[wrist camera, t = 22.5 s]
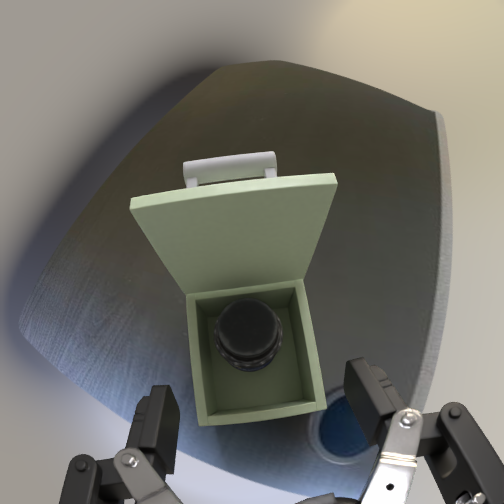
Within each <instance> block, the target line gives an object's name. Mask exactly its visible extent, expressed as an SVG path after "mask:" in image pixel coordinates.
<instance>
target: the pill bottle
mask: <svg viewBox="0 0 504 504" xmlns="http://www.w3.org/2000/svg"><path fill="white" fill-rule="evenodd" d="M214 342H215V346H216V348H217V350H218V352H219V353H220V354H221V356H222V357H223V358H224V359H225V360H226V361H227V362H228V363H229V364H230V365H231V366H233V367H234V368H236V369H238V370H241V371H245V372H255V371H258V370H261V369H263V368H265V367H266V366H267V365H269V364H270V363H271V361H272V360H273V358H274V357H275V356H276V354H277V353H278V351H279V350H280V347H281V344H282V342H283V328H282V324H281V321H280V319H279V317H278V316H277V314H276V313H275V312H274V311H273V310H272V309H271V308H270V307H269V306H268V305H267V304H266V303H264V302H262V301H260V300H258V299H254V298H241V299H238V300H235V301H233V302H231V303H230V304H228V305H227V306H226V307H225V308H224V309H223V311H222V312H221V314H220V316H219V317H218V319H217V321H216V324H215V327H214Z"/></svg>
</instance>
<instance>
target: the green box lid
mask: <svg viewBox="0 0 504 504" xmlns="http://www.w3.org/2000/svg"><path fill="white" fill-rule="evenodd" d="M183 173H184V179H185V183H186V185H187V189H181V190H174V191H168V192H162V193H157V194H151V195H145V196H140V197H135V198H131V204H130V211H131V213H132V214H133V216H134V218H135V219H136V221H137V223H138V224H139V226H140V227H141V229H142V231H143V232H144V234H145V235H146V237H147V239H148V240H149V242H150V243H151V245H152V246H153V248H154V249H155V251H156V252H157V254H158V256H159V257H160V259H161V260H162V262H163V263H164V265H165V266H166V268H167V269H168V271H169V272H170V273H171V275H172V276H173V278H174V279H175V281H176V282H177V284H178V285H179V287H180V288H181V289H182V291H183V292H184V294H192V293H201V292H209V291H218V290H226V289H234V288H242V287H249V286H257V285H264V284H272V283H279V282H286V281H293V280H300V279H304V277H305V274H306V272H307V269H308V266H309V264H310V261H311V258H312V256H313V253H314V250H315V248H316V245H317V242H318V240H319V237H320V234H321V231H322V229H323V226H324V223H325V220H326V217H327V215H328V212H329V209H330V206H331V203H332V200H333V197H334V194H335V191H336V188H337V185H338V183H337V180H336V178H335V175H334V173H326V174H311V175H298V176H286V177H277V175H276V173H277V162H276V156H275V153H274V152H261V153H251V154H242V155H233V156H225V157H217V158H210V159H203V160H196V161H190V162H184V164H183ZM258 176H264V178H265V179H256V180H247V181H238V182H230V183H222V184H215V185H207V186H200V187H199V184H202V183H209V182H217V181H224V180H232V179H240V178H249V177H258Z"/></svg>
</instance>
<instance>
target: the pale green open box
mask: <svg viewBox="0 0 504 504" xmlns="http://www.w3.org/2000/svg"><path fill="white" fill-rule="evenodd" d="M241 298H254V299H258V300H260V301H262V302H264V303H266V304H267V305H268V306H269V307H270V308H271V309H272V310H273V311H274V312H275V313H276V314H277V316H278V317H279V319H280V321H281V324H282V328H283V342H282V344H281V347H280V350H279V351H278V353H277V354H276V356H275V357H274V358H273V360H272V361H271V363H270V364H269V365H267V366H266V367H265V368H263V369H261V370H258V371H255V372H245V371H241V370H238V369H236V368H234V367H233V366H231V365H230V364H229V363H228V362H227V361H226V360H225V359H224V358H223V357H222V356H221V354H220V353H219V352H218V350H217V348H216V346H215V342H214V327H215V324H216V321H217V319H218V317H219V316H220V314H221V312H222V311H223V309H224V308H225V307H226V306H227V305H228V304H230V303H231V302H233V301H235V300H238V299H241ZM186 304H187V320H188V333H189V345H190V356H191V367H192V376H193V385H194V394H195V402H196V410H197V417H198V425H199V426H213V425H227V424H238V423H247V422H255V421H263V420H270V419H277V418H283V417H289V416H294V415H300V414H305V413H310V412H314V411H319V410H324V409H327V406H326V400H325V394H324V388H323V382H322V376H321V370H320V365H319V359H318V354H317V348H316V343H315V338H314V332H313V327H312V322H311V317H310V312H309V307H308V302H307V297H306V293H305V288H304V283H303V279H300V280H293V281H286V282H279V283H272V284H264V285H257V286H249V287H242V288H234V289H226V290H218V291H209V292H201V293H192V294H186Z"/></svg>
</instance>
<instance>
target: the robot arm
mask: <svg viewBox="0 0 504 504" xmlns="http://www.w3.org/2000/svg"><path fill="white" fill-rule="evenodd" d="M344 392H345V395H346V397H347V399H348V402H349V404H350V406H351V408H352V410H353V412H354V414H355V416H356V418H357V421H358V423H359V425H360V427H361V429H362V431H363V433H364V435H365V438H366V440H367V442H368V444H369V446H373V445H376V444H378V446H379V448H380V449H379V452H378V454H377V457H376V460H375V462H374V465H373V468H372V470H371V473H370V475H369V477H368V480H367V482H366V484H365V486H364V488H363V490H362V493H361V495H360V497H359V499H358V500H356V499H352V498H345V497H335V496H334V493H329V494H325V495H321V496H317V497H312V498H307V499H305V500H303V501H300V502H298V503H295V504H405V503H406V499H407V497H408V494H409V491H410V487H411V484H412V481H413V478H414V474H415V470H416V466H417V461H416V460H415V459H416V457H420V456H424V458H425V460H426V462H427V464H428V466H429V468H430V470H431V473H432V475H433V477H434V479H435V481H436V483H437V485H438V488H439V490H440V492H441V494H442V496H443V499H444V501H445V503H446V504H504V465H503V463H502V461H501V460H500V458H499V456H498V455H497V453H496V452H495V450H494V448H493V447H492V445H491V444H490V442H489V441H488V439H487V438H486V436H485V435H484V433H483V432H482V430H481V429H480V427H479V426H478V424H477V423H476V421H475V420H474V418H473V417H472V415H471V414H470V413H469V412H468V410H467V408H466V407H465V406H464V405H462V404H460V403H457V402H451V403H447V404H446V405H444V406H443V407H442V409H441V411H440V412H435V413H428V414H421V413H420V412H419V411H417V410H415V409H412V408H408V407H407V405H406V404H405V402H404V401H403V399H402V398H401V396H400V395H399V393H398V392H397V390H396V389H395V387H394V386H393V385H392V383H391V381H390V380H389V379H388V377H387V375H386V374H385V372H384V371H383V370H382V369H380V368H379V367H377V366H376V365H372V366H369V365H368V363H367V362H366V360H365V359H364V358H363V357H361V358H357V359H353V360H349V361H347V362H346V368H345V377H344ZM179 423H180V410H179V406H178V404H177V402H176V399H175V397H174V394H173V392H172V389H171V387H170V386H169V385H154V386H152V389H151V393H150V396H143V398H142V399H141V400H140V401H139V403H138V404H137V407H136V410H135V415H134V417H133V422H132V425H131V428H130V432H129V436H128V440H127V443H126V447H125V449H122V450H120V451H119V452H118V453H117V454H116V455H115V457H114V458H110V459H104V460H97V461H95V460H94V459H93V458H92V457H91V456H89V455H86V454H81V455H78V456H75V457H74V458H73V459H72V460H71V461H70V463H69V467H68V470H67V474H66V477H65V481H64V485H63V489H62V493H61V497H60V501H59V504H124V499H131V498H134V500H135V504H183V503H182V502H181V500H180V499H179V498H178V497H177V496H176V495H175V493H174V492H173V491H172V490H171V488H170V487H169V486H168V485H167V483H166V482H165V478H166V474H174V466H175V457H176V448H177V439H178V431H179Z"/></svg>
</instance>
